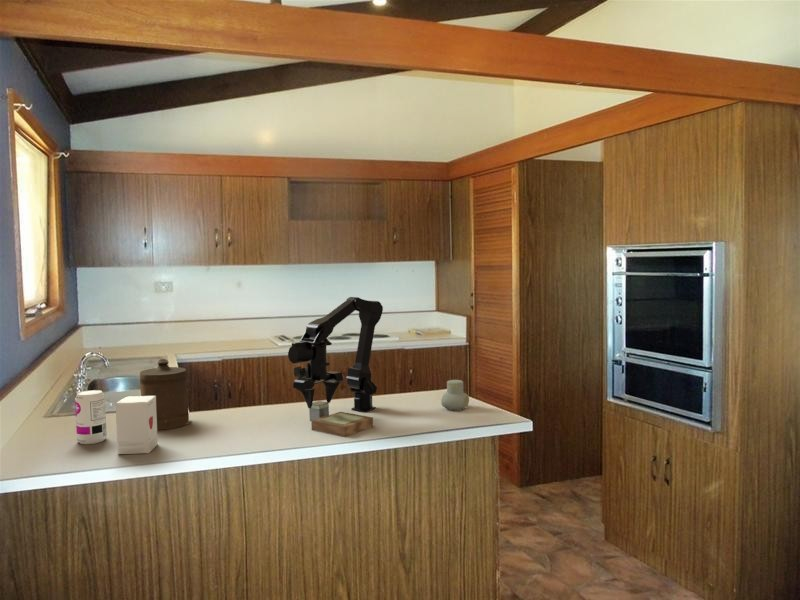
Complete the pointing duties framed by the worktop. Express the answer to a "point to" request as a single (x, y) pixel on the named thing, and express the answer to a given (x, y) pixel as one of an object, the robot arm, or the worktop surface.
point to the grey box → (318, 410)
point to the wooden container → (167, 394)
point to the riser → (342, 423)
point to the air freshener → (455, 396)
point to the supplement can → (90, 417)
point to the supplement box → (136, 424)
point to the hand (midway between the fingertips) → (319, 405)
